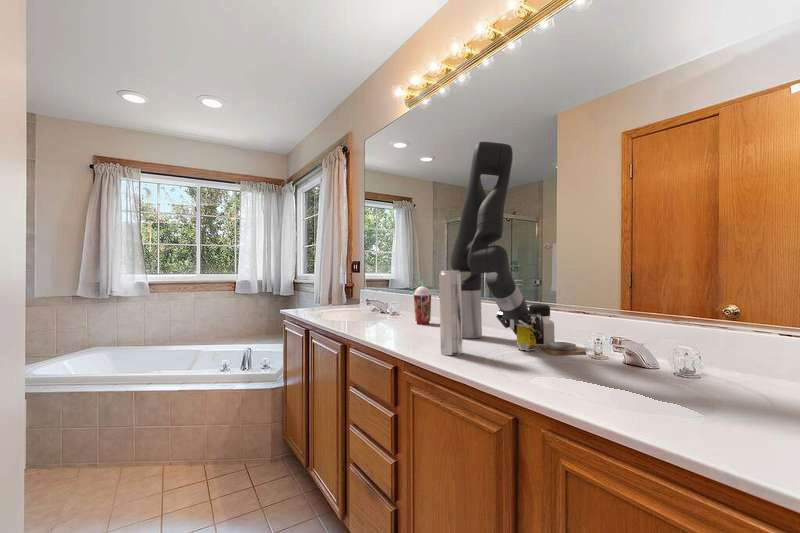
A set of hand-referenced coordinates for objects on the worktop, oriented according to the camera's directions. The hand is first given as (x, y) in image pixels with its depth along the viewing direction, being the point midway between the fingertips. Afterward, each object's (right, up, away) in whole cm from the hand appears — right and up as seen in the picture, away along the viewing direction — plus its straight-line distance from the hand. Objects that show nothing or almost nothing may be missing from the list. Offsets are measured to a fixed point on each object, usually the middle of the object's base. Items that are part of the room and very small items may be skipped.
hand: (528, 335), depth 121 cm
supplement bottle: (-1, -4, -1) cm, 5 cm away
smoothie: (-29, -5, +59) cm, 66 cm away
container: (+6, -4, +7) cm, 11 cm away
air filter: (-25, -5, -4) cm, 25 cm away
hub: (+8, -4, -4) cm, 10 cm away
